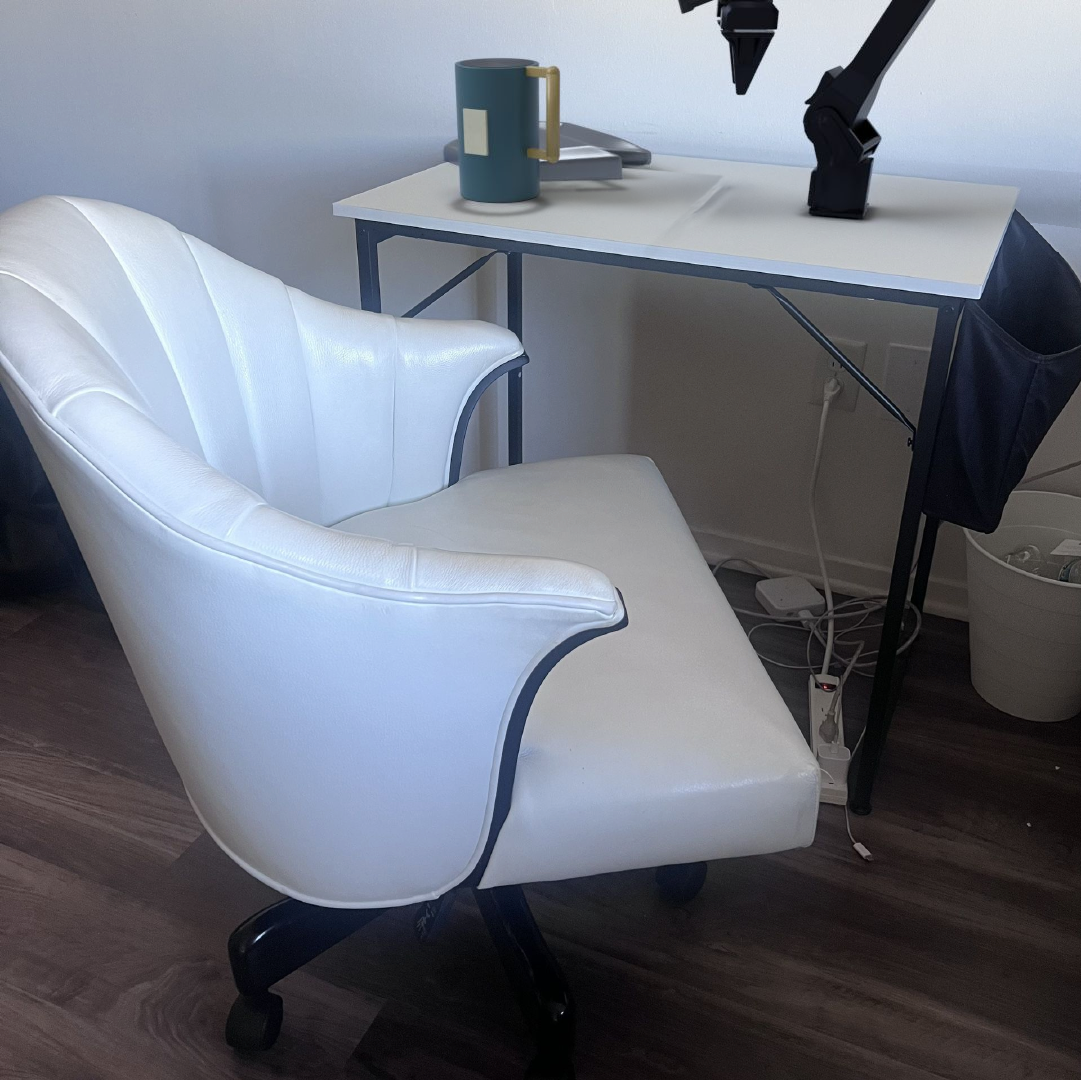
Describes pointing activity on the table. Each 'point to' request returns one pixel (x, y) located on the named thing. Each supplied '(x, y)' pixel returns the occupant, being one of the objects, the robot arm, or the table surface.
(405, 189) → the table surface
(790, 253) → the table surface
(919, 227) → the table surface
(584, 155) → the emblem
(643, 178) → the table surface
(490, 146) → the teal coffee mug
